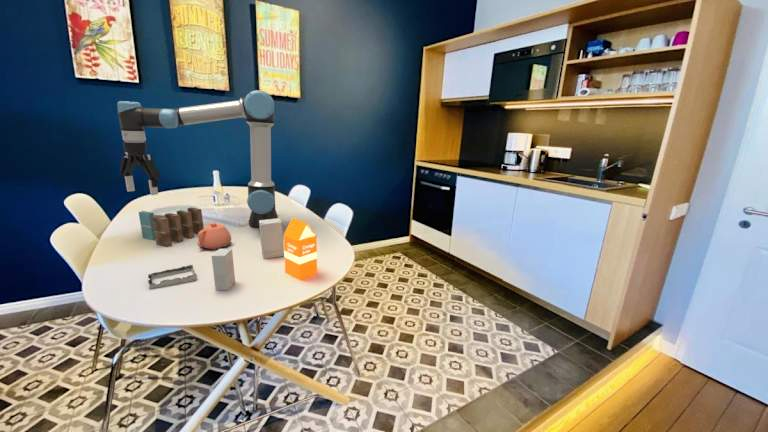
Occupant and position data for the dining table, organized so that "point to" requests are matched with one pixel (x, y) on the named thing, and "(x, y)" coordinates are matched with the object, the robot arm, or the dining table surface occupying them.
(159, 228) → the domino
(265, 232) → the skincare box
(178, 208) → the serving bowl
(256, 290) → the dining table surface
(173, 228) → the domino
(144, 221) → the domino
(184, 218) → the domino
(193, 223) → the domino
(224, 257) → the skincare box
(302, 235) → the orange juice
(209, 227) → the sugar bowl
